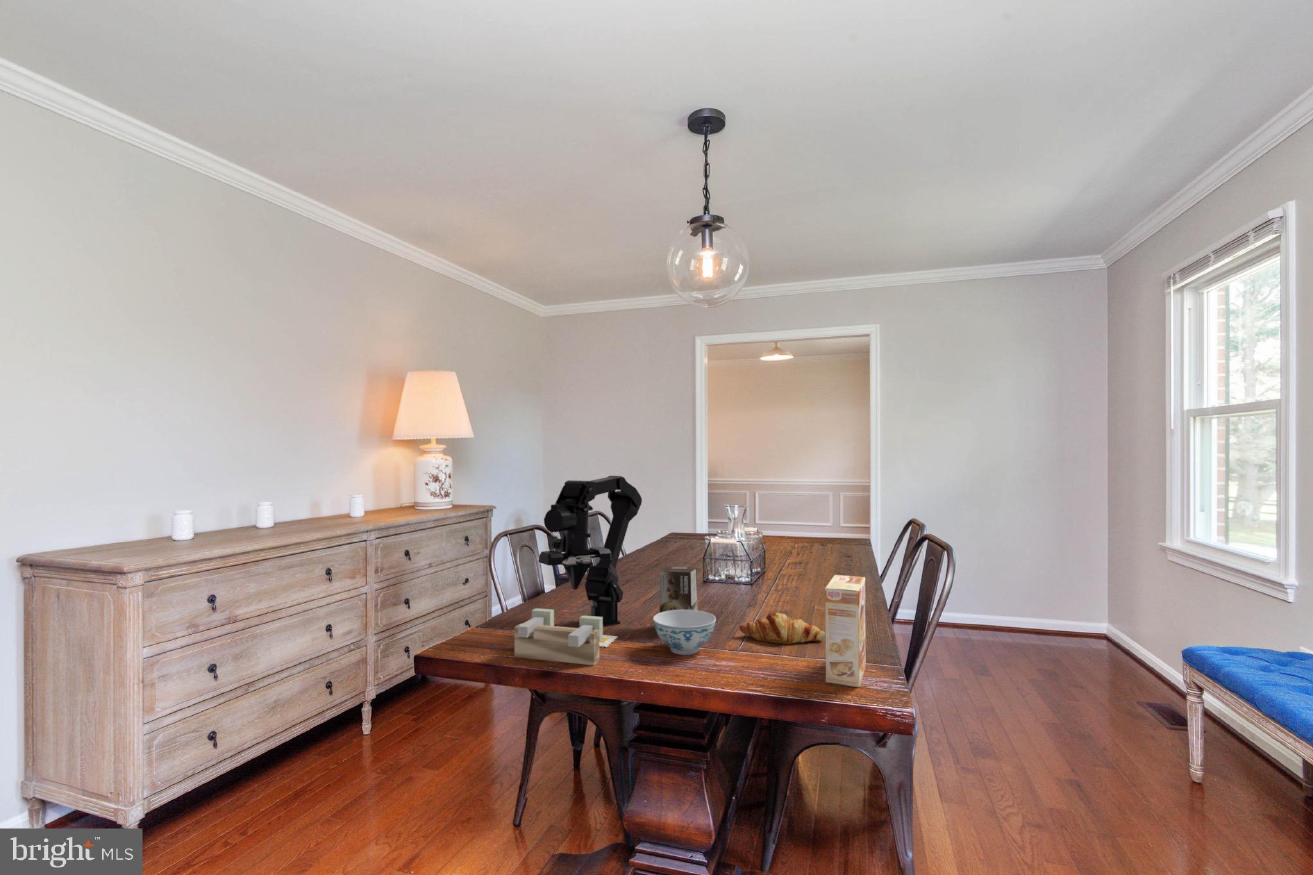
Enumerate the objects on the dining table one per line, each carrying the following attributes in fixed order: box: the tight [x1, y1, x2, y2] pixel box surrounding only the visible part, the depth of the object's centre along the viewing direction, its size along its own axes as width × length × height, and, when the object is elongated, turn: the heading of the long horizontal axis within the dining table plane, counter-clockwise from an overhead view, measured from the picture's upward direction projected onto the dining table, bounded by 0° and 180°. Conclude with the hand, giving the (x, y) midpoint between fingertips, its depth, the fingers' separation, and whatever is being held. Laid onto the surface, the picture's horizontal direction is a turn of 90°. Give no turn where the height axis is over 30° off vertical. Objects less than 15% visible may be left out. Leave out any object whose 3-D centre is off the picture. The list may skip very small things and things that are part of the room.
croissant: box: [739, 612, 826, 645], centre depth 157 cm, size 21×10×8 cm, turn 80°
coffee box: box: [658, 566, 699, 613], centre depth 166 cm, size 9×6×16 cm
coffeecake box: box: [824, 574, 867, 688], centre depth 133 cm, size 15×7×20 cm, turn 156°
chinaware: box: [652, 609, 717, 656], centre depth 149 cm, size 15×15×8 cm
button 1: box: [518, 607, 555, 638], centre depth 148 cm, size 11×5×5 cm, turn 163°
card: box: [599, 634, 618, 648], centre depth 157 cm, size 8×12×1 cm, turn 73°
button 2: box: [568, 615, 604, 647], centre depth 141 cm, size 11×5×5 cm, turn 163°
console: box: [513, 623, 600, 666], centre depth 144 cm, size 3×20×7 cm, turn 73°
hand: (574, 589), depth 161 cm, fingers closed
